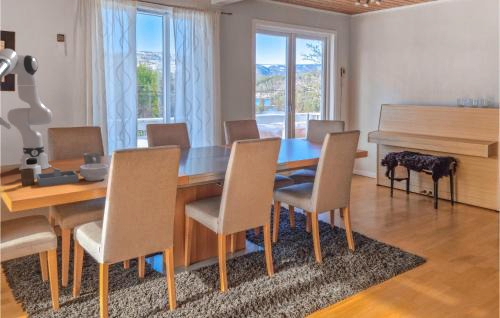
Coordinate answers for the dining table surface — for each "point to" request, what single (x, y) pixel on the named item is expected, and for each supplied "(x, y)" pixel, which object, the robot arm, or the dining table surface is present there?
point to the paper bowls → (93, 171)
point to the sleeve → (27, 177)
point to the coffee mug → (92, 158)
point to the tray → (57, 177)
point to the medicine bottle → (33, 166)
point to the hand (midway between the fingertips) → (9, 127)
